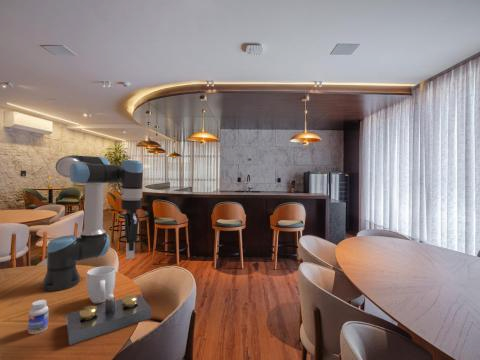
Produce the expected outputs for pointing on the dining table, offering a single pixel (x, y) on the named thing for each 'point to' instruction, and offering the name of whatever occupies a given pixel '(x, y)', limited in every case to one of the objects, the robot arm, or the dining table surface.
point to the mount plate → (106, 320)
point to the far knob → (129, 301)
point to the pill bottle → (38, 317)
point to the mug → (100, 283)
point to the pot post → (110, 303)
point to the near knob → (88, 313)
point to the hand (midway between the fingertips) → (130, 257)
